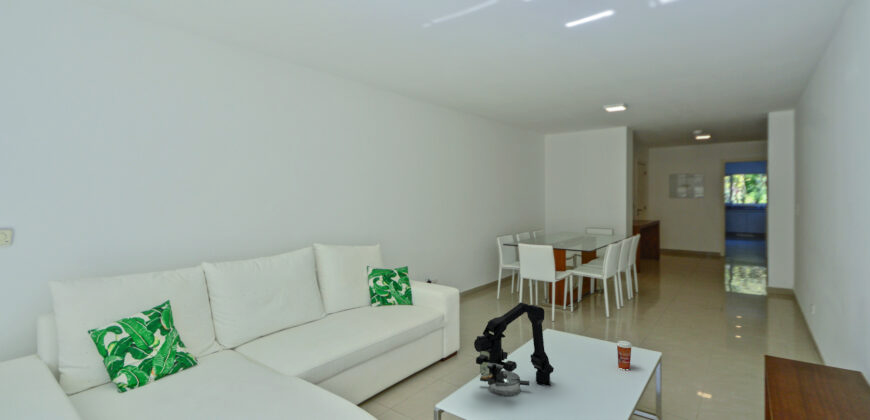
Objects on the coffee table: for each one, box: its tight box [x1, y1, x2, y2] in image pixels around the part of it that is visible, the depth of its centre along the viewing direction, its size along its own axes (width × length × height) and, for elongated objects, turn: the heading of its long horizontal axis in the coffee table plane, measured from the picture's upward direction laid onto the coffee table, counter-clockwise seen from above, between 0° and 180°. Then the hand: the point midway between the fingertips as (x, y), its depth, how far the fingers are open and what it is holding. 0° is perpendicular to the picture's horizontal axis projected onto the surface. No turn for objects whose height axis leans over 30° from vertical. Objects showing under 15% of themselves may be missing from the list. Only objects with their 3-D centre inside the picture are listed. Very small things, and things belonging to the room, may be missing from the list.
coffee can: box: [479, 350, 491, 377], centre depth 219 cm, size 10×10×14 cm
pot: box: [479, 375, 530, 398], centre depth 200 cm, size 24×15×5 cm, turn 76°
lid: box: [487, 370, 521, 386], centre depth 198 cm, size 19×15×5 cm
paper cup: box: [616, 340, 633, 370], centre depth 224 cm, size 8×8×14 cm
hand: (496, 381), depth 192 cm, fingers closed
